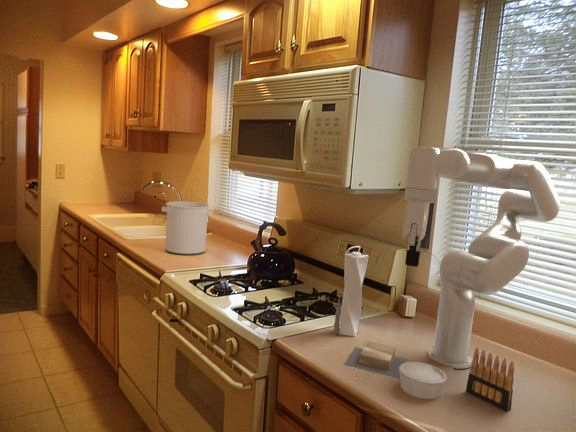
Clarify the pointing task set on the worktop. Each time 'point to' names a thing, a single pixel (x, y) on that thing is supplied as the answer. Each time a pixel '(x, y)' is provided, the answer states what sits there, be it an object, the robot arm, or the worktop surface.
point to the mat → (393, 370)
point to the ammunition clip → (491, 381)
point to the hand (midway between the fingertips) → (411, 265)
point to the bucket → (186, 227)
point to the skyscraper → (351, 294)
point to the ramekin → (422, 380)
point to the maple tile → (377, 355)
